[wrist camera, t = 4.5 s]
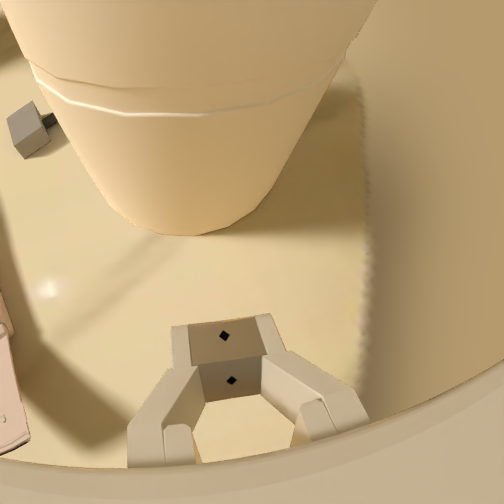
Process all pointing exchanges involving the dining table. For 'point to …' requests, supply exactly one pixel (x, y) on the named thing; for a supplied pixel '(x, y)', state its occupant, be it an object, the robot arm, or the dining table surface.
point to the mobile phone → (10, 392)
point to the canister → (184, 95)
